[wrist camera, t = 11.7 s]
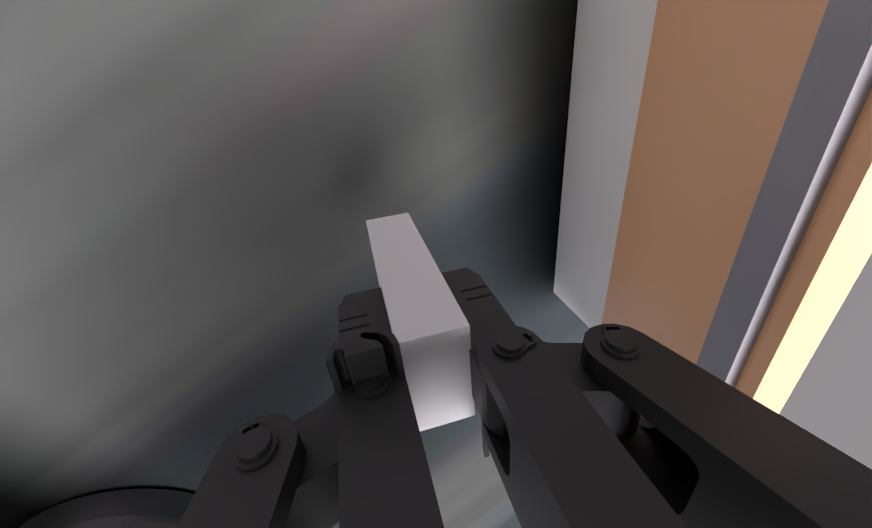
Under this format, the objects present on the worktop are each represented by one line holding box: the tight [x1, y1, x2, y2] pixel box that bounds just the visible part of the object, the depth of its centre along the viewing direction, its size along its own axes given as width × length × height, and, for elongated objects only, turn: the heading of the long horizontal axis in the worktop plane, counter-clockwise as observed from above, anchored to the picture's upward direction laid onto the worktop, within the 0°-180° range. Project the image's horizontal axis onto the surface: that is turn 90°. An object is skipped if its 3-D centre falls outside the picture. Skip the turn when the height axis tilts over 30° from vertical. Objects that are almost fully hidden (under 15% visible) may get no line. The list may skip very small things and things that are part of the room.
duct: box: [553, 0, 658, 328], centre depth 20 cm, size 10×20×6 cm, turn 5°
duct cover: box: [602, 0, 872, 418], centre depth 12 cm, size 10×20×1 cm
